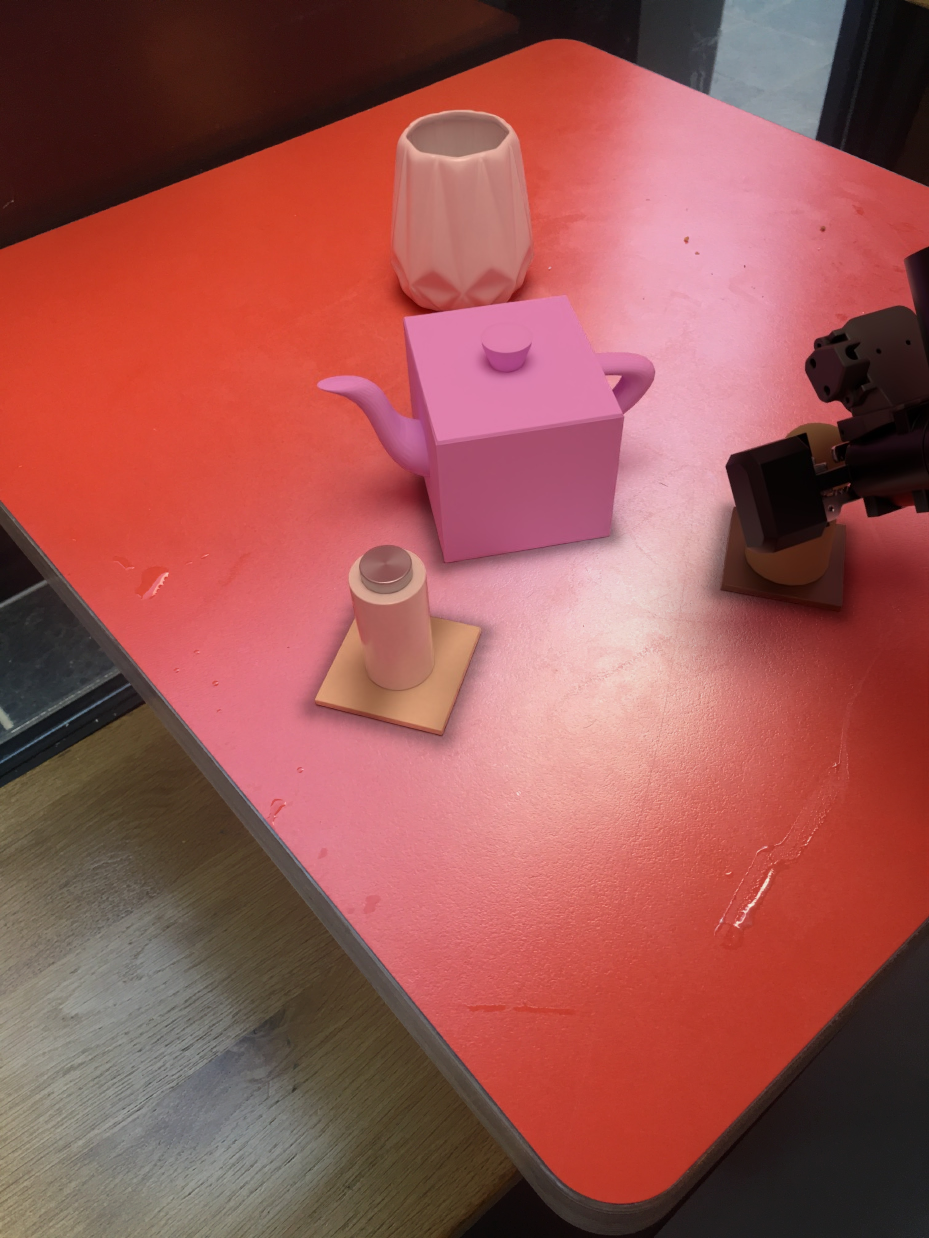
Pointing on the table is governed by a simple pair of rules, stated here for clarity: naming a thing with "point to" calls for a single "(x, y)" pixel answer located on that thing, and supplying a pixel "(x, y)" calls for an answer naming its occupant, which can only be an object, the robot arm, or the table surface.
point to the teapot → (508, 424)
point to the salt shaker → (393, 616)
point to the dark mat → (814, 594)
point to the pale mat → (411, 706)
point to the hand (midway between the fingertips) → (796, 476)
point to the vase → (460, 211)
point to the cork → (812, 555)
